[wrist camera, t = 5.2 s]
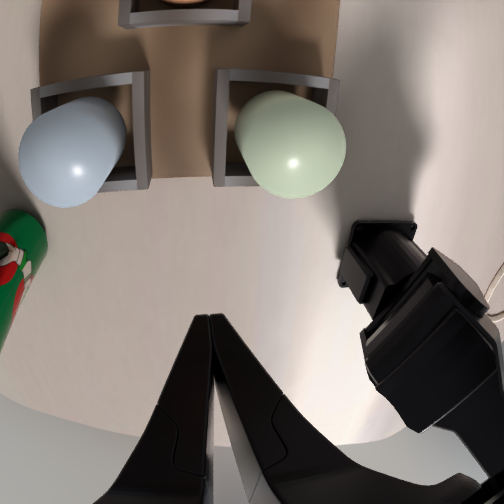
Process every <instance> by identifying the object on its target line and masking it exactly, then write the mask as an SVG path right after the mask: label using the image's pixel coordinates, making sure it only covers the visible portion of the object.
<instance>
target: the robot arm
mask: <svg viewBox="0 0 504 504" xmlns="http://www.w3.org/2000/svg"><path fill="white" fill-rule="evenodd" d="M359 226H360V228H358V227H359ZM357 228H358V229H357ZM416 230H417V224H416V223H415V222H414V221H372V220H359V221H356V222H355V223H354V224H353V226H352V229H351V233H350V237H349V241H348V245H347V247H346V249H345V252H344V256H343V260H342V264H341V267H340V274H339V278H338V284H339V286H340V287H341V288H345V287H349V288H350V290H351V291H352V293H353V295H354V297H355V298H356V300H357V302H358V303H359V304H364V306H365V308H366V309H367V311H368V313H369V314H370V316H371V318H372V320H373V321H372V322H371V323H370V324H369V325H368V326H367V327H366V328H364V329H363V330H362V331H361V332H360V338H361V343H362V348H363V354H364V359H365V366H366V370H367V373H368V376H369V379H370V381H371V382H372V383H373V384H374V386H375V389H376V390H377V391H378V392H379V393H380V394H381V395H383V396H384V397H385V398H386V399H387V400H388V401H389V402H390V403H391V404H392V405H393V406H394V408H395V409H396V411H397V412H398V413H399V415H400V417H401V418H402V420H403V421H404V423H405V424H406V426H407V427H408V428H410V429H412V430H414V431H415V432H417V433H423V432H424V431H425V430H427V429H428V428H430V427H431V426H434V427H438V428H441V429H444V430H448V431H452V432H454V433H455V434H456V435H457V436H458V437H459V438H460V440H461V441H462V442H463V444H464V445H465V446H466V448H467V449H468V450H469V452H470V453H471V454H472V456H473V457H474V458H475V460H476V461H477V462H478V464H479V465H480V466H481V468H482V469H483V470H484V472H485V473H486V474H487V476H488V477H489V478H488V479H487V480H485V481H484V482H482V483H481V484H479V483H478V482H477V481H476V480H474V479H472V478H471V477H468V476H466V475H464V474H461V473H457V474H455V475H453V476H452V477H450V478H448V479H446V480H445V481H443V482H441V483H439V484H436V485H430V486H425V485H418V484H414V483H411V482H407V481H404V480H400V479H398V478H395V477H392V476H388V475H386V474H383V473H380V472H377V471H374V470H371V469H369V468H366V467H364V466H362V465H360V464H358V463H356V462H354V461H353V460H351V459H350V458H348V457H347V456H346V455H345V454H344V453H343V452H341V451H340V450H339V449H338V448H337V447H336V446H335V445H333V444H332V443H331V442H330V441H329V440H328V439H327V438H326V437H325V436H323V435H322V434H321V433H320V432H319V431H318V430H317V429H316V428H315V427H314V426H313V425H312V424H311V423H310V422H309V421H308V420H307V419H306V418H305V417H304V416H303V415H302V414H301V413H300V412H299V411H298V410H297V409H296V407H295V406H294V405H293V404H292V403H291V401H290V400H289V399H288V398H287V396H286V395H285V394H283V392H282V390H281V389H280V388H279V387H278V385H277V384H276V383H275V381H274V380H273V379H272V378H271V376H270V375H269V374H268V373H267V371H266V370H265V369H264V367H263V366H262V365H261V363H260V362H259V361H258V360H257V358H256V357H255V356H254V354H253V353H252V352H251V350H250V349H249V348H248V346H247V345H246V344H245V342H244V341H243V340H242V338H241V337H240V336H239V334H238V333H237V332H236V330H235V329H234V327H233V326H232V325H231V323H230V322H229V321H228V319H227V318H226V317H225V315H224V314H222V313H219V314H210V316H209V315H208V314H201V315H195V316H194V318H193V320H192V323H191V325H190V327H189V330H188V332H187V334H186V336H185V339H184V341H183V343H182V346H181V348H180V350H179V352H178V355H177V357H176V359H175V362H174V364H173V366H172V369H171V371H170V373H169V376H168V378H167V380H166V383H165V385H164V388H163V390H162V392H161V395H160V397H159V399H158V402H157V403H158V404H157V405H156V406H155V409H154V411H153V413H152V416H151V418H150V420H149V422H148V424H147V427H146V429H145V431H144V433H143V434H142V436H141V438H140V440H139V442H138V444H137V445H136V447H135V449H134V450H133V452H132V454H131V455H130V457H129V459H128V460H127V462H126V464H125V465H124V467H123V469H122V471H121V472H120V474H119V476H118V477H117V479H116V480H115V482H114V483H113V485H112V486H111V487H110V488H109V490H108V491H107V492H106V493H105V494H104V495H103V496H101V497H100V498H99V499H98V500H97V501H95V502H94V503H93V504H213V437H214V380H215V386H216V390H217V394H218V398H219V402H220V406H221V409H222V413H223V417H224V421H225V424H226V428H227V432H228V435H229V439H230V442H231V446H232V449H233V452H234V456H235V459H236V463H237V466H238V469H239V473H240V476H241V479H242V482H243V486H244V489H245V492H246V495H247V498H248V501H249V503H250V504H504V361H503V354H502V347H501V340H500V333H499V330H498V328H497V327H496V325H495V324H494V323H493V322H492V321H491V319H490V318H489V317H488V316H487V315H486V314H485V313H486V312H487V311H488V310H489V308H490V307H489V305H488V303H487V301H486V299H485V297H484V296H483V294H482V292H481V290H480V288H479V287H478V285H477V283H476V282H475V281H474V280H473V279H472V278H471V277H470V276H469V275H468V274H467V273H466V272H465V271H464V270H463V269H462V268H461V267H460V266H459V265H458V264H456V263H455V262H453V261H452V260H451V259H449V258H448V257H446V256H445V255H444V254H442V253H441V252H439V251H438V250H436V249H435V248H433V247H432V248H431V249H430V251H429V252H428V255H426V254H425V253H424V252H423V251H422V250H421V249H420V248H419V247H418V246H417V245H416V244H415V242H414V241H413V238H414V235H415V232H416ZM342 282H343V283H342Z"/></svg>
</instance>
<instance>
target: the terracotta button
mask: <svg viewBox="0 0 504 504" xmlns="http://www.w3.org/2000/svg"><path fill="white" fill-rule="evenodd" d="M159 1H160V2H162V3H164V4H167V5H169V6H173V7H179V8H188V7H195V6H199V5H202V4H205V3H207V2H209V1H211V0H159Z"/></svg>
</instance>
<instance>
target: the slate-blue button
mask: <svg viewBox="0 0 504 504" xmlns="http://www.w3.org/2000/svg"><path fill="white" fill-rule="evenodd" d="M126 139H127V132H126V125H125V122H124V119H123V117H122V115H121V113H120V112H119V111H118V109H117V108H116V107H115V106H114V105H113V104H111V103H110V102H108V101H107V100H105V99H102V98H99V97H92V96H88V97H82V98H78V99H76V100H73V101H71V102H68V103H66V104H64V105H61V106H59V107H57V108H55V109H53V110H50V111H48V112H46V113H44V114H42V115H41V116H39V117H37V118H36V119H35V120H34V121H33V122H32V123H31V124H30V125H29V126H28V128H27V129H26V131H25V133H24V135H23V137H22V139H21V142H20V147H19V154H18V161H19V168H20V172H21V175H22V178H23V180H24V182H25V184H26V185H27V187H28V188H29V190H30V191H31V192H32V193H33V194H34V195H35V196H36V197H37V198H38V199H40V200H41V201H43V202H45V203H47V204H49V205H52V206H55V207H62V208H69V207H75V206H78V205H81V204H83V203H85V202H86V201H88V200H90V199H91V198H92V197H93V196H94V195H95V194H96V193H97V192H98V191H99V189H100V188H101V186H102V185H103V183H104V181H105V180H106V178H107V177H108V175H109V173H110V172H111V170H112V169H113V167H114V166H115V164H116V163H117V161H118V160H119V158H120V157H121V155H122V153H123V151H124V148H125V145H126Z"/></svg>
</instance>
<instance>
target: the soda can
mask: <svg viewBox="0 0 504 504" xmlns="http://www.w3.org/2000/svg"><path fill="white" fill-rule="evenodd" d="M47 248H48V243H47V238H46V235H45V232H44V230H43V228H42V226H41V225H40V223H39V222H38V221H37V220H36V219H35V218H34V217H33V216H31V215H30V214H28V213H26V212H24V211H21V210H16V209H12V210H7V211H5V212H3V213H2V214H1V215H0V353H1V350H2V348H3V345H4V343H5V340H6V338H7V335H8V333H9V330H10V328H11V326H12V323H13V321H14V319H15V316H16V314H17V312H18V310H19V307H20V305H21V303H22V301H23V299H24V297H25V295H26V293H27V291H28V289H29V287H30V285H31V283H32V281H33V279H34V277H35V275H36V273H37V271H38V269H39V267H40V265H41V264H42V262H43V260H44V258H45V256H46V253H47Z"/></svg>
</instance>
